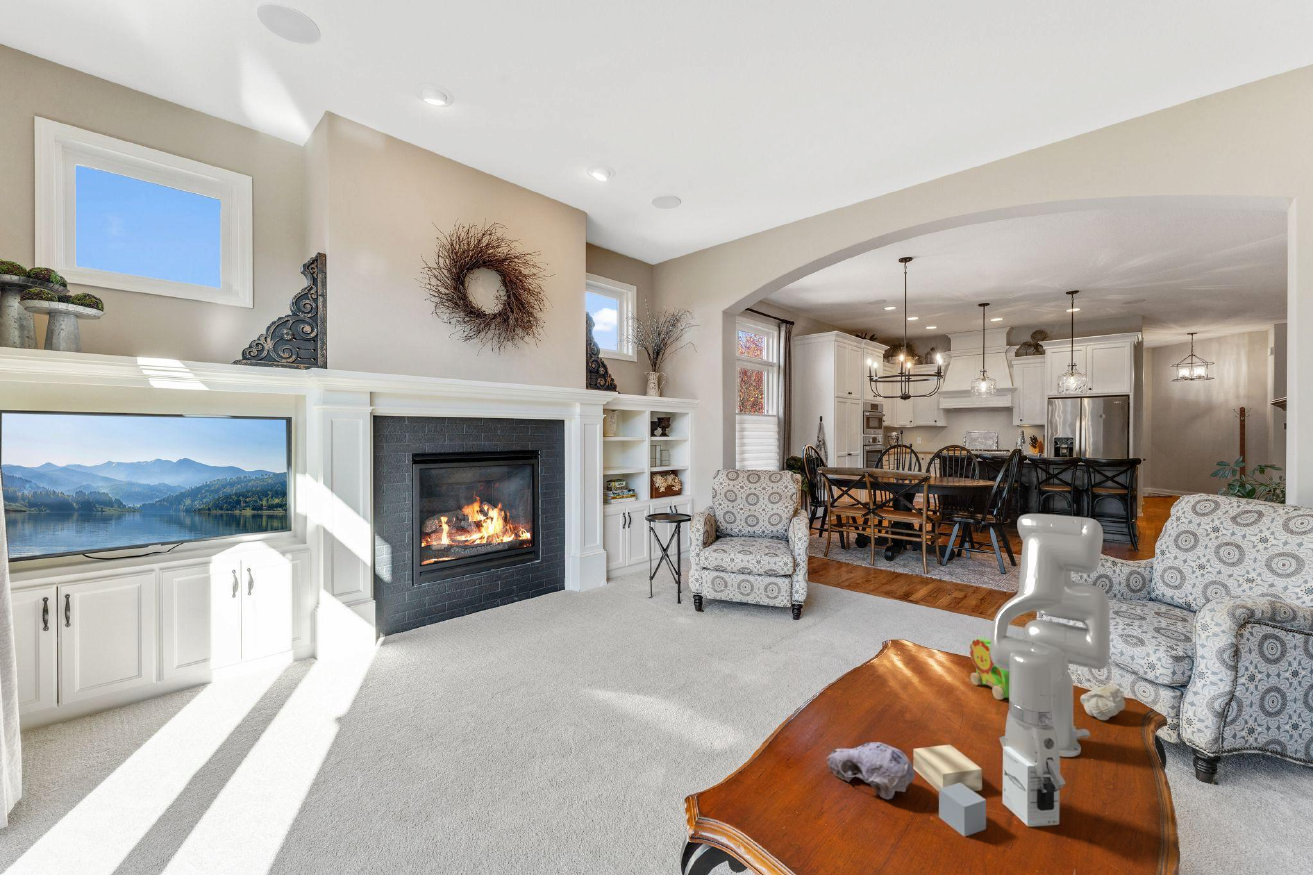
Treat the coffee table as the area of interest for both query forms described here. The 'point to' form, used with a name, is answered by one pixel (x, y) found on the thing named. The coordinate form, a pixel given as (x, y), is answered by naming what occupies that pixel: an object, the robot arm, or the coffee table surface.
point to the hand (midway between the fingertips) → (1030, 795)
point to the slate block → (962, 809)
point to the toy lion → (988, 669)
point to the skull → (874, 767)
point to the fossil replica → (1103, 702)
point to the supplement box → (1025, 791)
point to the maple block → (946, 767)
